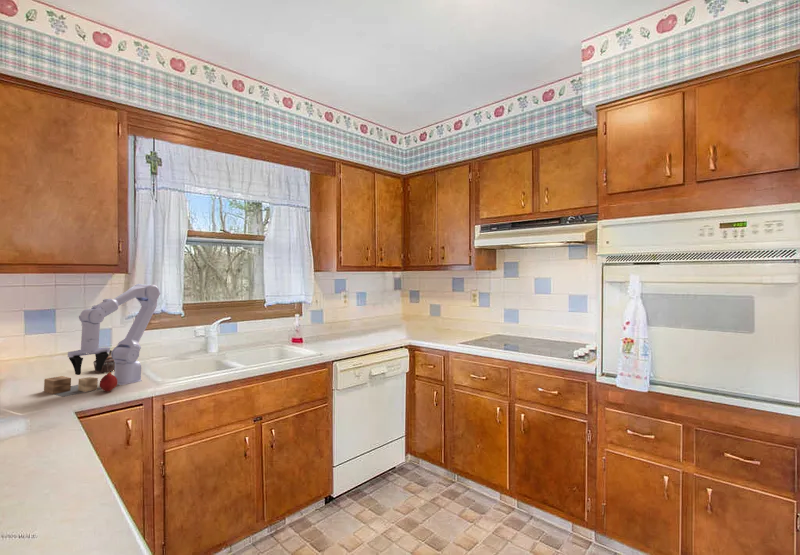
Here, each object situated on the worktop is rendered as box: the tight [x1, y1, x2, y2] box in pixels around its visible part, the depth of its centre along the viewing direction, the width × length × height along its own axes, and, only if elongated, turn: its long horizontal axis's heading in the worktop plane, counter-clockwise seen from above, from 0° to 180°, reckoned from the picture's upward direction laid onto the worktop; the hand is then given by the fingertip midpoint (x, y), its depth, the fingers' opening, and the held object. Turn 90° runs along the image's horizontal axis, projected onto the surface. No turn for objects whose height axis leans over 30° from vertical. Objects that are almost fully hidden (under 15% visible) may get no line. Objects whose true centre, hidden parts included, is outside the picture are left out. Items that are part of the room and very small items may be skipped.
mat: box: [42, 384, 102, 398], centre depth 165 cm, size 14×14×1 cm
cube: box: [77, 376, 99, 393], centre depth 166 cm, size 4×4×4 cm
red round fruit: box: [99, 372, 118, 393], centre depth 166 cm, size 6×6×8 cm
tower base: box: [43, 383, 72, 395], centre depth 162 cm, size 6×6×2 cm
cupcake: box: [93, 349, 115, 374], centre depth 200 cm, size 10×10×10 cm
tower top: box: [43, 375, 72, 388], centre depth 162 cm, size 6×6×2 cm
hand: (88, 372), depth 166 cm, fingers open, 7 cm apart
